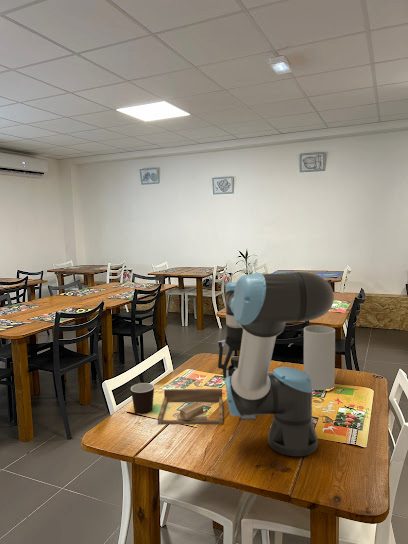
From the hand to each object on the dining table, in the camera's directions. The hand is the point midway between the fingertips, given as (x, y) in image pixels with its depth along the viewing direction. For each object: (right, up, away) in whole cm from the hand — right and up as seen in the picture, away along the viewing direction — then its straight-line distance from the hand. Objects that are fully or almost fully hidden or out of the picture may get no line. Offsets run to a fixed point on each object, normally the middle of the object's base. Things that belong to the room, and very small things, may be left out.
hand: (237, 385), depth 145 cm
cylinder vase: (+36, -7, +21) cm, 43 cm away
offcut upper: (-17, -9, -6) cm, 20 cm away
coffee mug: (-34, -11, +4) cm, 36 cm away
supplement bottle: (0, -2, 0) cm, 2 cm away
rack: (-17, -11, 0) cm, 20 cm away
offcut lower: (-17, -12, -5) cm, 21 cm away
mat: (0, -10, +1) cm, 10 cm away
